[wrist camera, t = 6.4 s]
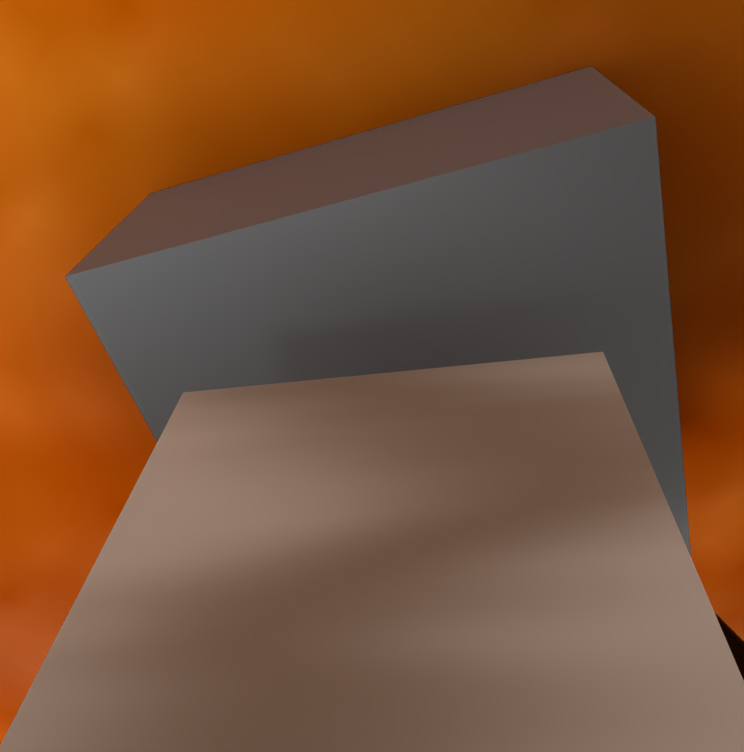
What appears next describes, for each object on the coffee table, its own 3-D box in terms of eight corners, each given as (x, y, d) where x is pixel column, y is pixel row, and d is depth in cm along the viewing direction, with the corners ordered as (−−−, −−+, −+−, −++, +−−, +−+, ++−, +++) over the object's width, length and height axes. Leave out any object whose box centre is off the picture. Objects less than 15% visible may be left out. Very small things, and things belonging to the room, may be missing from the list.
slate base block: (587, 63, 12) (655, 116, 8) (634, 438, 16) (692, 576, 12) (155, 188, 13) (64, 276, 10) (297, 500, 17) (267, 638, 14)
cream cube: (602, 351, 8) (805, 824, 4) (596, 637, 11) (711, 1106, 6) (182, 392, 9) (-47, 832, 4) (274, 651, 11) (184, 1085, 7)
